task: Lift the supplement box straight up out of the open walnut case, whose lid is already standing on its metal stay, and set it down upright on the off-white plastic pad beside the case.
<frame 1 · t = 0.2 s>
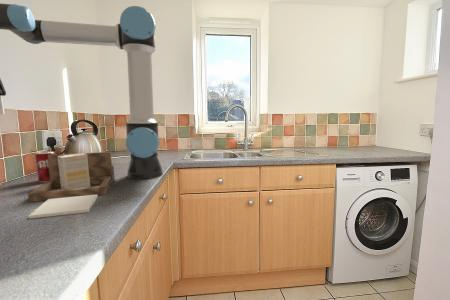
supplement box: (76, 190, 90), resting in walnut case
soda can: (48, 181, 105), on the counter
off-white pad: (67, 206, 74), on the counter
walnut case: (76, 190, 90), on the counter
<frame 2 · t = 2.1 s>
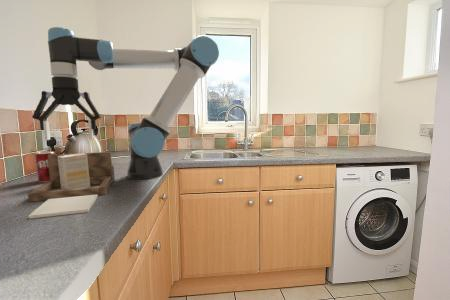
hand: (70, 139, 87), 19 cm above the counter, tool pointing down, fingers open, 13 cm apart
nothing on the counter moved.
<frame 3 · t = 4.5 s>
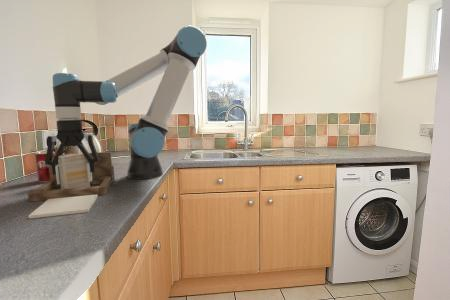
hand: (75, 182, 90), 3 cm above the counter, tool pointing down, fingers closed on supplement box, 9 cm apart
supplement box: (75, 190, 90), resting in walnut case, touching gripper
everything else where it was.
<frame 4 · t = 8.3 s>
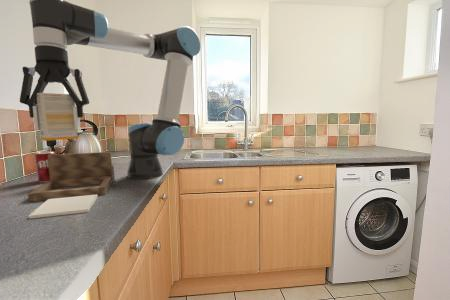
hand: (58, 129, 72), 23 cm above the counter, tool pointing down, fingers closed on supplement box, 9 cm apart
supplement box: (59, 140, 72), point 20 cm above the counter, touching gripper
everything else where it was.
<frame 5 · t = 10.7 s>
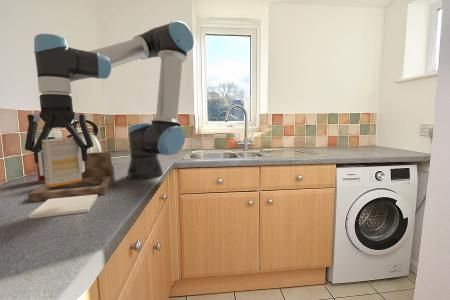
hand: (63, 173, 72), 10 cm above the counter, tool pointing down, fingers closed on supplement box, 9 cm apart
supplement box: (64, 183, 73), point 7 cm above the counter, touching gripper
everything else where it was.
when the fingers open (5 cm above the counter, at t = 12.6 s): supplement box drops 1 cm, resting on off-white pad.
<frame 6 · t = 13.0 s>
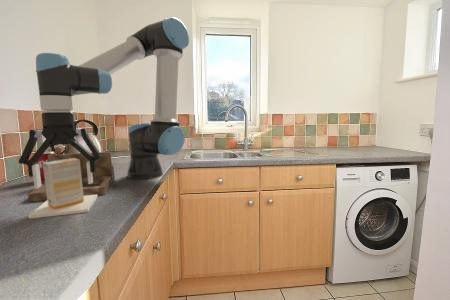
hand: (65, 185, 73), 6 cm above the counter, tool pointing down, fingers open, 13 cm apart
supplement box: (66, 204, 74), point 1 cm above the counter, touching off-white pad
everything else where it was.
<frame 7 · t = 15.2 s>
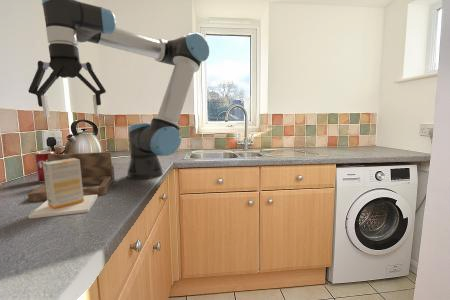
hand: (72, 116, 78), 26 cm above the counter, tool pointing down, fingers open, 13 cm apart
nothing on the counter moved.
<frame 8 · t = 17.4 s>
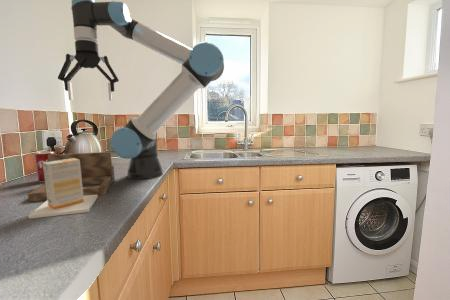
hand: (91, 100, 95), 33 cm above the counter, tool pointing down, fingers open, 13 cm apart
nothing on the counter moved.
at the end: supplement box inside the target area on the off-white pad (0.2 cm from its centre), point 0.6 cm above the off-white pad's base; supplement box tilted 0°; the gripper is holding nothing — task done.
